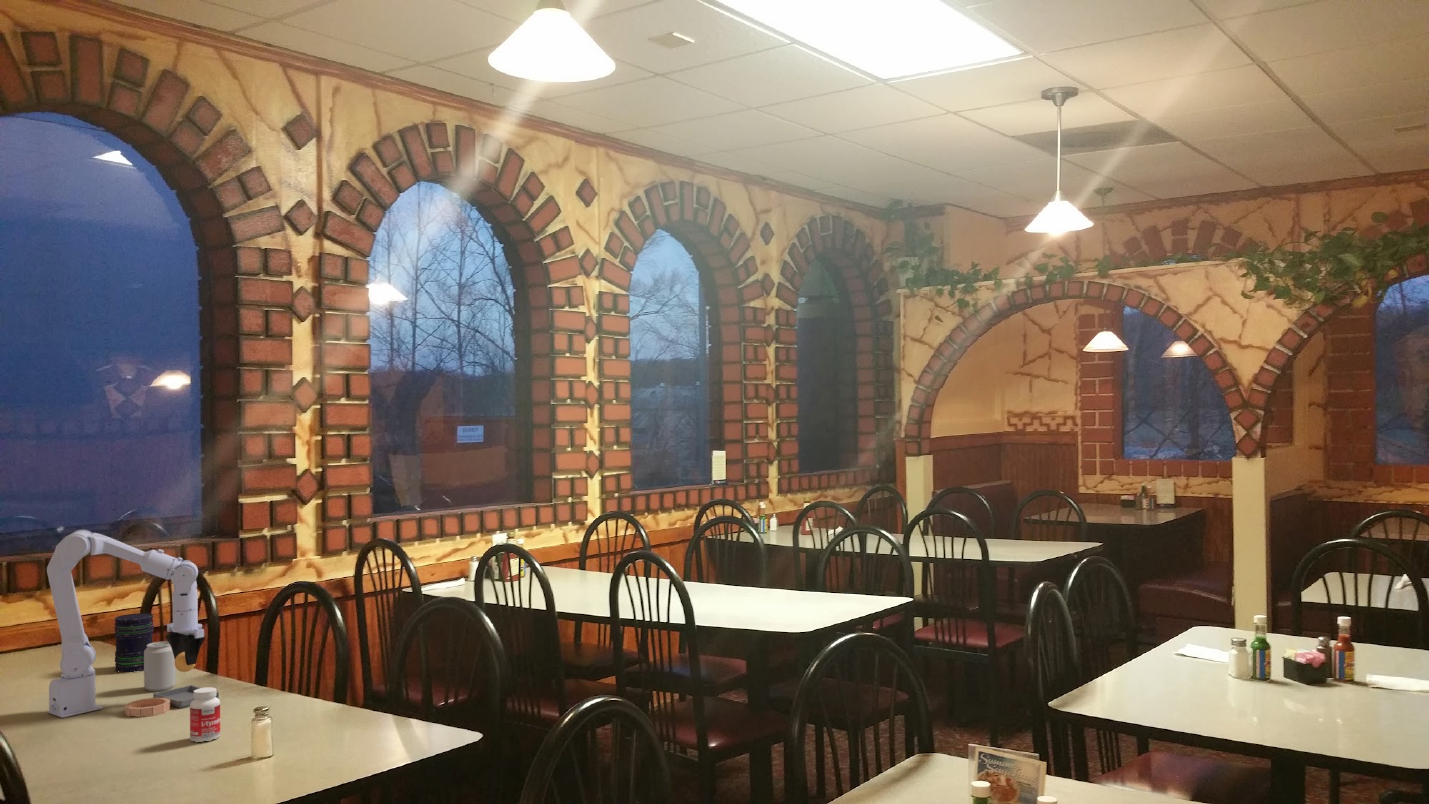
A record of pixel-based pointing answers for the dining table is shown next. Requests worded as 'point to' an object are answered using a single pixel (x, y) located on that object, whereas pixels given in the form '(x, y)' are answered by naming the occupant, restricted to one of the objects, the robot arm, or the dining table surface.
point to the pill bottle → (204, 715)
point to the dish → (147, 707)
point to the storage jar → (132, 640)
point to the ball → (182, 663)
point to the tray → (180, 696)
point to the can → (159, 667)
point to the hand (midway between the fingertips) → (185, 662)
